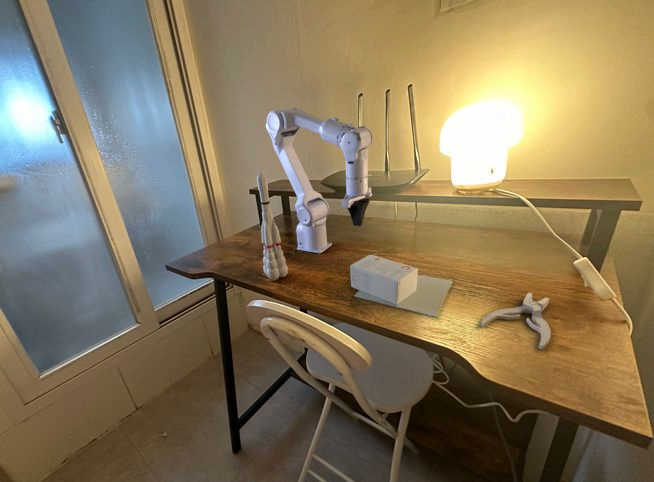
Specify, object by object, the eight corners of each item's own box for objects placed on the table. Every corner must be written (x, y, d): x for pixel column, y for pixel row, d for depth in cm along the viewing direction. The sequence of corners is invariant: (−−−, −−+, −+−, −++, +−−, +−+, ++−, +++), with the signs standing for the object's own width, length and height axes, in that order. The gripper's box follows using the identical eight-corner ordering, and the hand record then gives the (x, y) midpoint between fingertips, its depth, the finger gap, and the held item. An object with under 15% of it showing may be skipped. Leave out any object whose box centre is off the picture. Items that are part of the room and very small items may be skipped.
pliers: (480, 318, 58) (510, 287, 65) (478, 325, 58) (509, 293, 66) (545, 342, 50) (571, 303, 58) (543, 350, 51) (568, 310, 59)
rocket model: (292, 271, 89) (279, 166, 76) (284, 284, 83) (268, 172, 70) (269, 270, 91) (253, 168, 78) (260, 282, 85) (240, 174, 72)
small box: (350, 287, 76) (396, 306, 67) (349, 264, 74) (397, 281, 64) (370, 275, 80) (416, 291, 71) (370, 253, 78) (418, 267, 68)
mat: (354, 296, 73) (354, 295, 73) (379, 268, 84) (379, 267, 83) (435, 317, 62) (435, 316, 62) (452, 281, 73) (452, 280, 73)
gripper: (359, 183, 73) (360, 235, 79) (381, 171, 83) (381, 218, 89) (333, 183, 77) (336, 232, 83) (357, 171, 87) (358, 216, 93)
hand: (357, 225), depth 86 cm, fingers closed
